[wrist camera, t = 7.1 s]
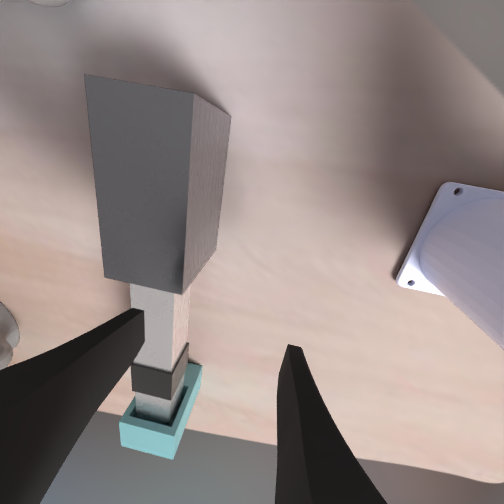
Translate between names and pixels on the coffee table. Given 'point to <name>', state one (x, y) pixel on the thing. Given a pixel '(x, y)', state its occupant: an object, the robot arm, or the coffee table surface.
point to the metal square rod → (160, 353)
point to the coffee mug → (7, 336)
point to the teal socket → (158, 435)
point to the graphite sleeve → (156, 180)
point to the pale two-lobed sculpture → (49, 2)
